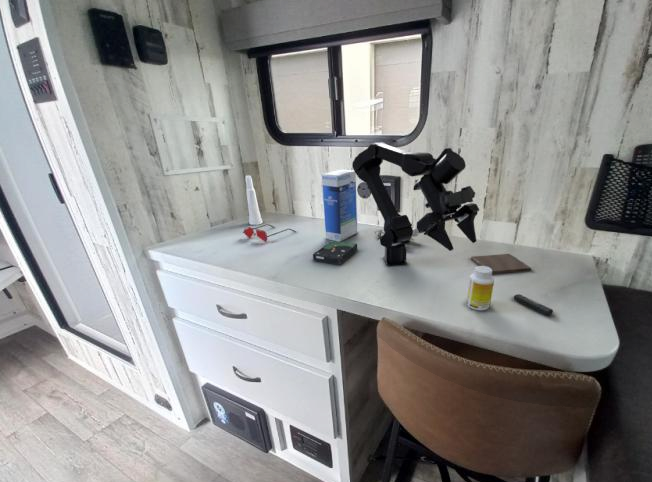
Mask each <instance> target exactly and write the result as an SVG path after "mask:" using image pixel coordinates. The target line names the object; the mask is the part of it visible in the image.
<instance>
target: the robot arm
mask: <svg viewBox="0 0 652 482" xmlns="http://www.w3.org/2000/svg"><path fill="white" fill-rule="evenodd" d="M384 161H385V162H387V163H391V164H393V165H394V166H395V165H396V166H397V167H400V168H401V170H402V172H403V173H404V174H406V175H408V176H409V177H419V176H420V178H419V179H415V180H414V185H413V188H412V189H413V191H419V190H420V191H421V193H422V195H423V197H424V198H425V200H426V203H425V204H424V205H425V208H426V209H429V208H430V210H431V212H427V213H425V215H423V216H422V217H421V218H419V220H418V221H417V222H416V228H417V229H418V231H419V234H423V235H424V236H427V237H429V238H430V239H432V240H434V241H435V242H437V243H438V244H440V245H441V246H443V247H444V248H445V249H447V250H448V251H449V252H452V251H453V250H454V246H453V243H452V241H451V239H450V237H449V235H448V232H447V230H446V222H450V221H453V220H454V222H455V223H457V224H456V226H457V228H458V229H459V230H460V231H461V233H463V234H464V235H465V237H466V238H467V239H468V240H469V241H470V242H471V243H472V244H475V243H477V236H476V235H477V234H476V229H475V219H476V216H477V215H478V213H479V212H480V208H479V206H478V204H477V203H474V198H475V197H476V192H475V190H474V189H473V187H472V186H471V185H468V186H465V187H461V189H460V190H459V191H455V192H453V191H452V190H447V189H446V187H445V185H449V184H450V183H451V182H452V181H453V180H454V179H455V178H457V176H458V175H460V174H461V173H462V172H463V171H464V170H465V169H466V166H467V165H466V161H465V159H464V157H463V156H461V155H460V154H459V153H458V152H456V151H453V149H452V148H451V147H445V148H444V149H443V150H442V151H441V153H440V154H439V156H438V157H436V158H435V157H434V155H433V154H432V153H430V152H418V151H417V152H416V151H415V152H413V151H411V152H410V151H406V150H404V149H401V148H399V147H398V148H397V147H395V146H393V145H389V144H387V143H385V142H373V143H370V145H368V146H367V148H366V149H364V150H363V151H361V152H360V153H359V154H357V155H356V156H355V157H354V159H353V161H352V164H351V165H352V169H353V171H355V173H356V177H357V178H358V179H359V180H360V181H362V182H363V183H365V184H366V186H367V187H368V190H369V192H370V194H371V196H372V198H373V200H374V202H375V204H376V207H377V208H378V210H379V212H380V214H381V216H382V218H383V220H384V221H383V231H384V233H385V234H383V235H381V236H380V237H379V242H380V246H382V247H384V256H383V261H384V262H385V264H386V266H388V267H389V266H400V265H401V266H402V265H407V250H408V249H407V247H406V245H408V244H410V243H411V240H412V239H411V238H413V237H412V233H413V229H412V228H413V224H412V223H411V221H410V218H409V216H408V215H407V214H400V213H399V212H398V210H397V207H396V206H395V204H394V202H393V200H392V197H391V195H390V194H389V192H388V190H387V187H386V185H385V183H384V181H383V180H382V177H381V169H382V168H381V165H382V164H383V162H384ZM421 176H422V177H421ZM466 203H467V204H466ZM410 239H411V240H410Z"/></svg>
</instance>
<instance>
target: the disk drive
mask: <svg viewBox="0 0 652 482" xmlns="http://www.w3.org/2000/svg"><path fill="white" fill-rule="evenodd" d="M357 251H358V243H355V242H349V241H341V242H338V241H334V240H331V241H330V242H328V243H327V244H325V245H324V246H323V247H321V248H320V249H318V250H317V251H315V252H314V253H312V261H315V262H320V263H325V264H331V265H341V264H342V263H344V262H345V261H346V260H347V259H348V258H350V257H351V256H352V255H353V254H354V253H356V252H357Z"/></svg>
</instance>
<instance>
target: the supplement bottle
mask: <svg viewBox="0 0 652 482" xmlns="http://www.w3.org/2000/svg"><path fill="white" fill-rule="evenodd" d="M494 284H495V277H494V276H493V274H492V269H491V268H489V267H487V266H478V265H477V266H475V268H474V271H473V273H472V274H471V275H470V276H469V282H468V290H467V297H466V305H467V306H468V307H469V308H470V309H472V310H475V311H486V310H488V309H489V308H490V307H491V306H490V305H491V301H492V297H493V296H492V295H493V290H494Z"/></svg>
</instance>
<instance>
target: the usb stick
mask: <svg viewBox="0 0 652 482" xmlns="http://www.w3.org/2000/svg"><path fill="white" fill-rule="evenodd" d="M513 299H514V300H515V301H516V302H518V303H521V304H523V305H524V306H527V307H528V308H530V309H533V310H534V311H535V312H536V311H537V312H538V313H540V314H543V315H545V316H547V317H548V316H550V315H552V314H553V313H554V310H553V309H552V308H550V307H548V306H546V305H543V304H541V303H539V302H538V301H535V300H533V299H531V298H529V297H527V296H525V295H523V294H520V293H517V294H514V295H513Z"/></svg>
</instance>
